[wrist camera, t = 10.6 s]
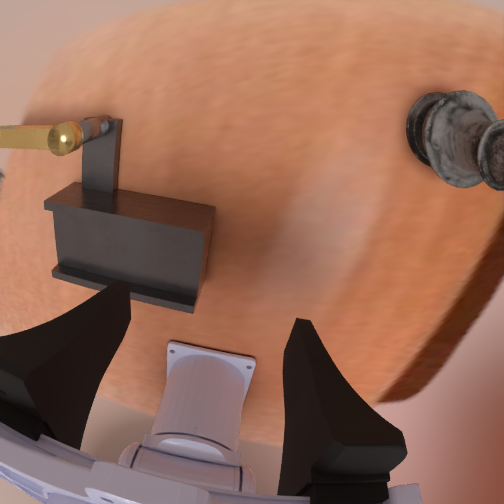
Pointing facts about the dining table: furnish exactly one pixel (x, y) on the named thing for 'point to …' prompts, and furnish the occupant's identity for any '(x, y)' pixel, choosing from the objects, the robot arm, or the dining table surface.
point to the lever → (43, 137)
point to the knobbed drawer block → (1, 176)
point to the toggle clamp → (128, 230)
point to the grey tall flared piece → (458, 138)
